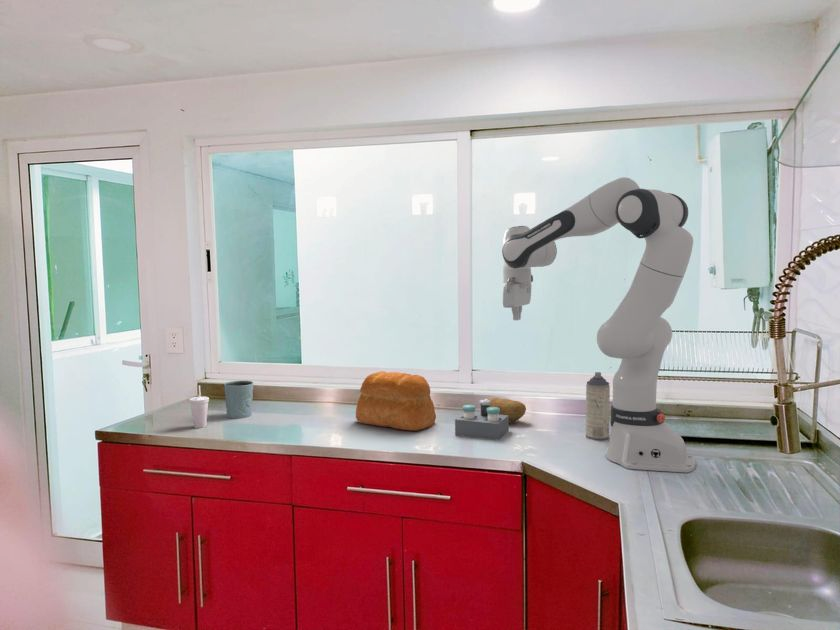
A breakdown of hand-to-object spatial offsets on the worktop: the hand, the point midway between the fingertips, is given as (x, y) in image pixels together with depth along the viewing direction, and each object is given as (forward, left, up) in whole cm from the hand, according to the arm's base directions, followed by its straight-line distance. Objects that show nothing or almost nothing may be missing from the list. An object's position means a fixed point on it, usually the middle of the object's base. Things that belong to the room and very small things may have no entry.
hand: (516, 320), depth 192 cm
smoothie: (+98, +41, -35) cm, 112 cm away
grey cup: (+96, +24, -35) cm, 105 cm away
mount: (+8, +12, -35) cm, 38 cm away
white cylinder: (+12, +13, -34) cm, 38 cm away
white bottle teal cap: (+4, +13, -34) cm, 36 cm away
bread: (+39, +11, -35) cm, 54 cm away
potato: (+5, -4, -35) cm, 36 cm away
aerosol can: (-26, +3, -35) cm, 44 cm away
